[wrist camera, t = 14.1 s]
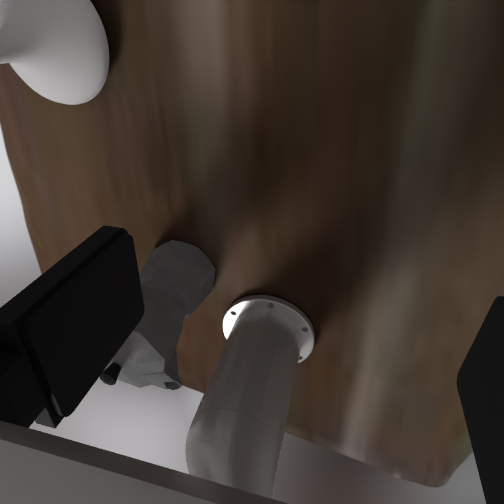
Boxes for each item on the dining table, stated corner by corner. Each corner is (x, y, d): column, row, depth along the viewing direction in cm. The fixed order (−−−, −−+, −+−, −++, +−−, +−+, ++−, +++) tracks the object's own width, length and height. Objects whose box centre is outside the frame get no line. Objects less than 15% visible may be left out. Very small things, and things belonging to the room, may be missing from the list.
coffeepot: (243, 276, 47) (187, 399, 32) (208, 314, 52) (147, 434, 38) (139, 204, 45) (30, 301, 30) (115, 252, 50) (13, 353, 36)
